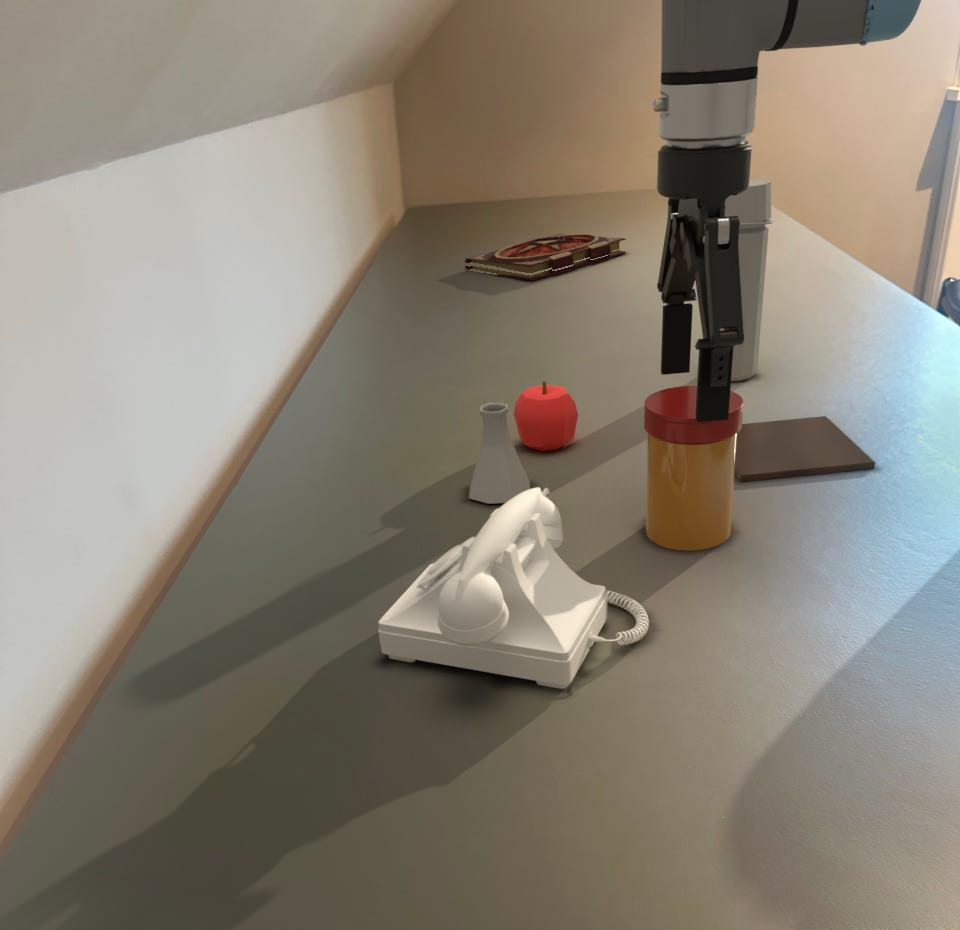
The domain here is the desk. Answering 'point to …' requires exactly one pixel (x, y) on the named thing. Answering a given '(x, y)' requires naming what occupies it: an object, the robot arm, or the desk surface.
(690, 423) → the lid
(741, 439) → the pad
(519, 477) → the flask
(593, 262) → the book
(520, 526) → the telephone
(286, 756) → the desk surface
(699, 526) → the jar
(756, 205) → the water bottle
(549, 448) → the apple
